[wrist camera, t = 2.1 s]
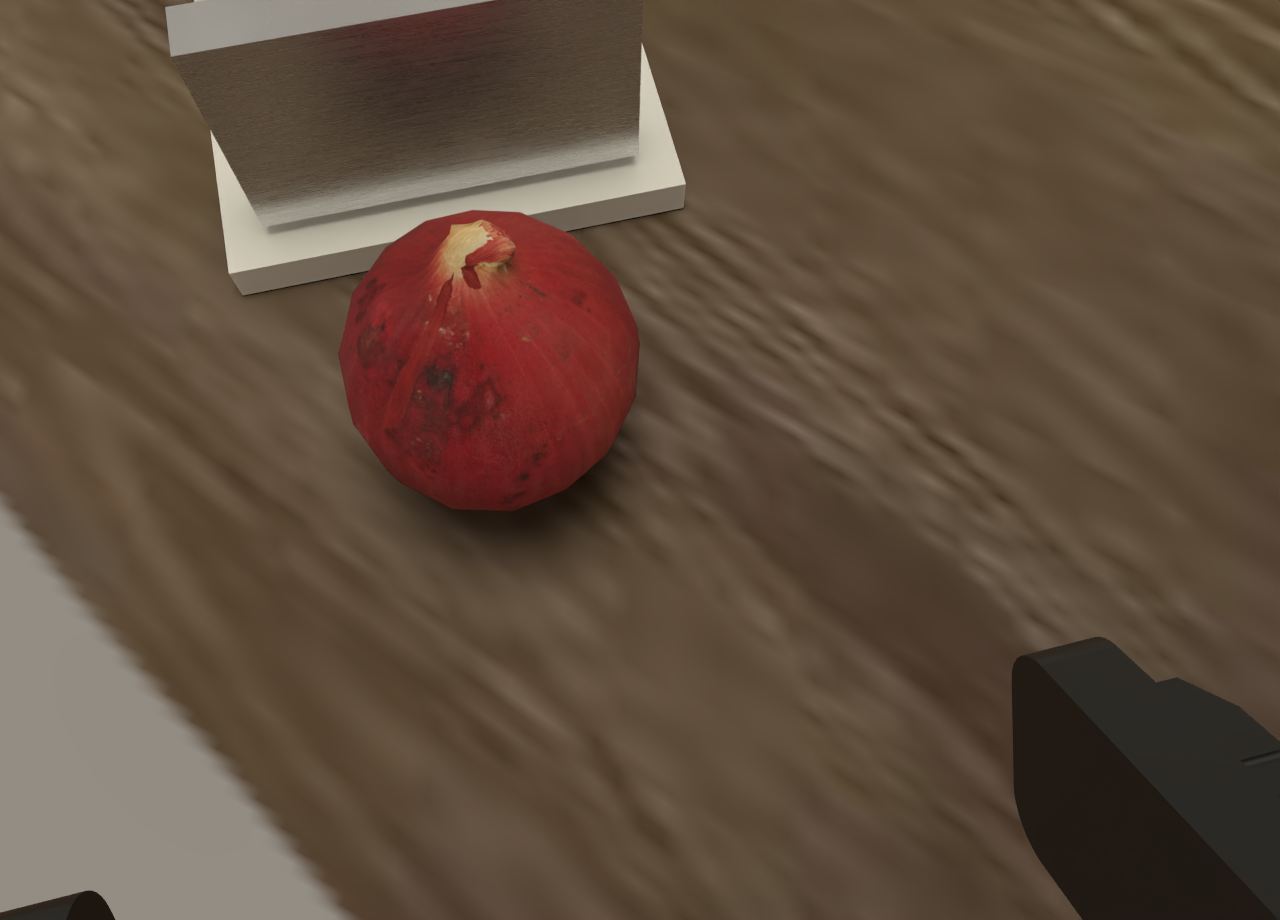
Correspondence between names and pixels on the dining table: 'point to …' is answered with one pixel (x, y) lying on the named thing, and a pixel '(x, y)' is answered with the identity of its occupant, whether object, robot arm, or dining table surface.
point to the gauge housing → (450, 209)
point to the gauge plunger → (406, 93)
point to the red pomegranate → (489, 359)
